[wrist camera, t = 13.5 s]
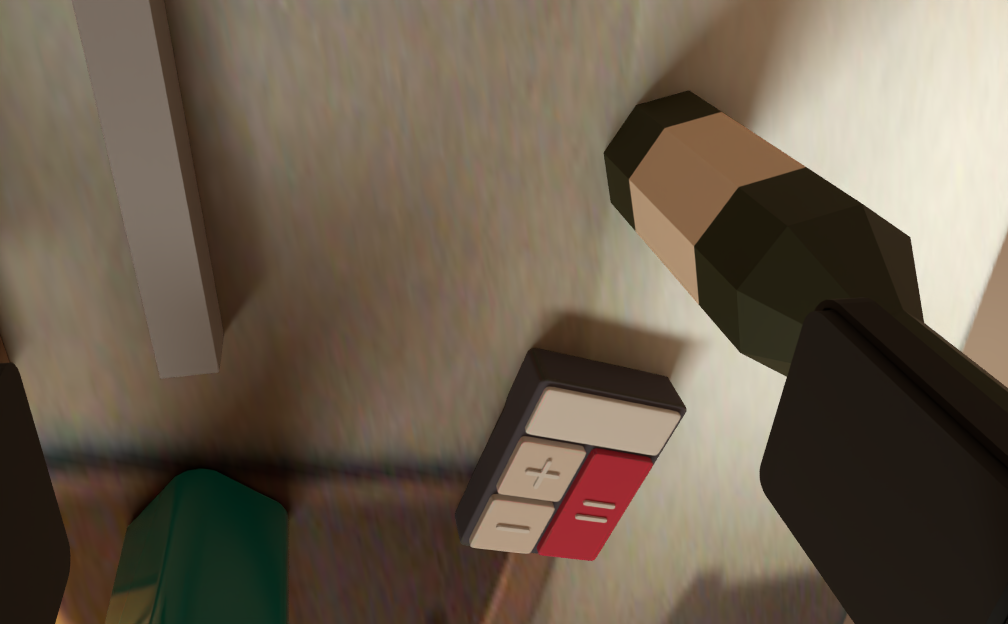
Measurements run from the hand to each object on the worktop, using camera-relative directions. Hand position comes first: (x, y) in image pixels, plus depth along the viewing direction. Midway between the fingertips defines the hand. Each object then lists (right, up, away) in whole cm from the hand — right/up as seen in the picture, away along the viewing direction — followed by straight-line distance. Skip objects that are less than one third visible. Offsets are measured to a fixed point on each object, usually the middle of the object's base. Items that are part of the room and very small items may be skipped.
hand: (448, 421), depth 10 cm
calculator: (+4, -8, +48) cm, 49 cm away
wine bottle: (+10, +10, +38) cm, 41 cm away
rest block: (-17, +9, +32) cm, 37 cm away
